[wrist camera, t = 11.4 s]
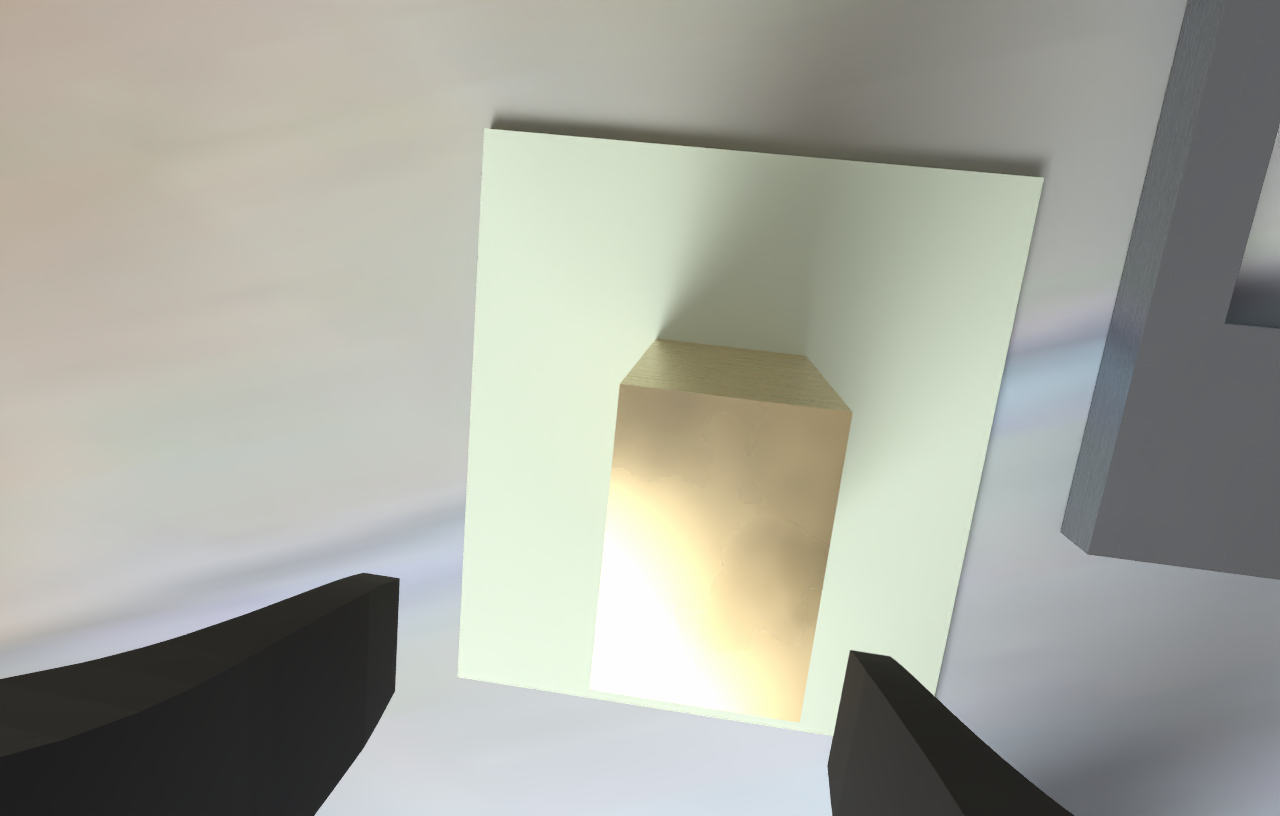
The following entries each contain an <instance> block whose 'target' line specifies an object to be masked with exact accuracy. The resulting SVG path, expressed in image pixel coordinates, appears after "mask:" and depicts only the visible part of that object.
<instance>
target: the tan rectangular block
mask: <svg viewBox="0 0 1280 816" xmlns="http://www.w3.org/2000/svg"><path fill="white" fill-rule="evenodd" d="M852 414H853V412H852V411H851V410H850V408H849V407H848V406H847V405H846V403H845V402H844V401H843V400H842V399H841V397H840V396H839V395H838V394H837V392H836V391H835V390H834V389H833V388H832V386H831V385H830V384H829V383H828V382H827V380H826V379H825V378H824V377H823V375H822V374H821V373H820V372H819V371H818V369H817V368H816V367H815V366H814V364H813V363H812V362H811V361H810V360H809V358H808V357H807V356H803V355H795V354H786V353H777V352H769V351H760V350H751V349H743V348H734V347H726V346H717V345H708V344H700V343H691V342H682V341H674V340H665V339H655V340H654V342H653V343H652V344H651V345H650V347H649V348H648V349H647V350H646V352H645V353H644V354H643V355H642V357H641V358H640V359H639V360H638V362H637V363H636V364H635V365H634V367H633V368H632V369H631V370H630V372H629V373H628V374H627V375H626V377H625V378H624V379H623V380H622V382H621V383H620V387H619V397H618V407H617V418H616V428H615V438H614V448H613V459H612V469H611V479H610V489H609V500H608V510H607V520H606V530H605V540H604V551H603V561H602V571H601V581H600V592H599V602H598V612H597V622H596V633H595V643H594V653H593V663H592V674H591V684H590V689H593V690H599V691H605V692H611V693H618V694H624V695H630V696H636V697H643V698H649V699H655V700H661V701H668V702H674V703H680V704H687V705H693V706H699V707H705V708H712V709H718V710H724V711H730V712H737V713H743V714H749V715H755V716H762V717H768V718H774V719H780V720H787V721H793V722H799V723H800V718H801V712H802V706H803V700H804V694H805V689H806V683H807V677H808V671H809V665H810V659H811V654H812V648H813V642H814V636H815V630H816V624H817V618H818V613H819V607H820V601H821V595H822V589H823V583H824V577H825V572H826V566H827V560H828V554H829V548H830V542H831V537H832V531H833V525H834V519H835V513H836V507H837V501H838V496H839V490H840V484H841V478H842V472H843V466H844V460H845V455H846V449H847V443H848V437H849V431H850V425H851V420H852Z"/></svg>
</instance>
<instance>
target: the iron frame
mask: <svg viewBox="0 0 1280 816" xmlns="http://www.w3.org/2000/svg"><path fill="white" fill-rule="evenodd" d="M1279 124H1280V0H1188V4H1187V8H1186V12H1185V17H1184V21H1183V25H1182V29H1181V33H1180V37H1179V42H1178V46H1177V50H1176V54H1175V58H1174V62H1173V67H1172V71H1171V75H1170V79H1169V83H1168V87H1167V91H1166V96H1165V100H1164V104H1163V108H1162V112H1161V116H1160V121H1159V125H1158V129H1157V133H1156V137H1155V141H1154V146H1153V150H1152V154H1151V158H1150V162H1149V166H1148V170H1147V175H1146V179H1145V183H1144V187H1143V191H1142V195H1141V200H1140V204H1139V208H1138V212H1137V216H1136V220H1135V225H1134V229H1133V233H1132V237H1131V241H1130V245H1129V250H1128V254H1127V258H1126V262H1125V266H1124V270H1123V274H1122V279H1121V283H1120V287H1119V291H1118V295H1117V299H1116V304H1115V308H1114V312H1113V316H1112V320H1111V324H1110V329H1109V333H1108V337H1107V341H1106V345H1105V349H1104V353H1103V358H1102V362H1101V366H1100V370H1099V374H1098V378H1097V383H1096V387H1095V391H1094V395H1093V399H1092V403H1091V408H1090V412H1089V416H1088V420H1087V424H1086V428H1085V432H1084V437H1083V441H1082V445H1081V449H1080V453H1079V457H1078V462H1077V466H1076V470H1075V474H1074V478H1073V482H1072V487H1071V491H1070V495H1069V499H1068V503H1067V507H1066V511H1065V516H1064V520H1063V524H1062V528H1061V533H1062V534H1064V535H1065V536H1066V537H1067V538H1068V539H1070V540H1071V541H1072V542H1073V543H1075V544H1076V545H1077V546H1078V547H1079V548H1081V549H1082V550H1083V551H1084V552H1085V553H1087V554H1089V555H1097V556H1105V557H1112V558H1120V559H1127V560H1135V561H1143V562H1150V563H1158V564H1165V565H1173V566H1181V567H1188V568H1196V569H1203V570H1211V571H1218V572H1226V573H1234V574H1241V575H1249V576H1256V577H1264V578H1272V579H1279V580H1280V328H1271V327H1261V326H1252V325H1242V324H1232V323H1225V321H1226V317H1227V313H1228V310H1229V306H1230V302H1231V299H1232V295H1233V291H1234V288H1235V284H1236V281H1237V277H1238V273H1239V270H1240V266H1241V262H1242V259H1243V255H1244V251H1245V248H1246V244H1247V241H1248V237H1249V233H1250V230H1251V226H1252V222H1253V219H1254V215H1255V211H1256V208H1257V204H1258V200H1259V197H1260V193H1261V190H1262V186H1263V182H1264V179H1265V175H1266V171H1267V168H1268V164H1269V160H1270V157H1271V153H1272V150H1273V146H1274V142H1275V139H1276V135H1277V131H1278V128H1279Z"/></svg>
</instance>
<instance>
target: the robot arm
mask: <svg viewBox="0 0 1280 816" xmlns="http://www.w3.org/2000/svg"><path fill="white" fill-rule="evenodd" d="M398 604H399V578H393V577H387V576H380V575H374V574H368V573H361V574H357V575H353V576H350V577H346V578H343V579H340V580H337V581H334V582H331V583H328V584H326V585H323V586H320V587H318V588H315V589H312V590H309V591H307V592H304V593H301V594H299V595H296V596H293V597H291V598H288V599H285V600H283V601H280V602H277V603H275V604H272V605H269V606H267V607H264V608H261V609H259V610H256V611H253V612H251V613H248V614H245V615H242V616H239V617H236V618H233V619H230V620H227V621H225V622H222V623H219V624H216V625H213V626H210V627H207V628H204V629H201V630H198V631H195V632H192V633H189V634H186V635H183V636H180V637H177V638H174V639H170V640H167V641H164V642H160V643H157V644H153V645H150V646H146V647H143V648H139V649H135V650H132V651H128V652H124V653H120V654H116V655H112V656H108V657H104V658H101V659H96V660H92V661H88V662H84V663H79V664H74V665H69V666H64V667H59V668H54V669H49V670H44V671H39V672H34V673H29V674H24V675H19V676H14V677H9V678H4V679H0V816H314V815H315V814H316V812H317V811H318V810H319V808H320V807H321V806H322V804H323V803H324V802H325V800H326V799H327V797H328V796H329V795H330V793H331V792H332V791H333V789H334V788H335V787H336V785H337V784H338V783H339V781H340V780H341V778H342V777H343V776H344V774H345V773H346V772H347V770H348V769H349V767H350V766H351V765H352V763H353V762H354V761H355V759H356V758H357V756H358V755H359V753H360V752H361V751H362V749H363V748H364V746H365V745H366V743H367V741H368V739H369V738H370V736H371V734H372V732H373V731H374V729H375V727H376V725H377V724H378V722H379V720H380V718H381V716H382V714H383V713H384V711H385V709H386V707H387V705H388V703H389V701H390V699H391V697H392V695H393V694H394V692H395V677H396V652H397V628H398ZM828 775H829V786H830V797H831V806H832V815H833V816H1074V815H1073V814H1071V813H1070V812H1069V811H1067V810H1066V809H1064V808H1063V807H1062V806H1060V805H1059V804H1058V803H1057V802H1055V801H1054V800H1053V799H1051V798H1050V797H1049V796H1048V795H1046V794H1045V793H1044V792H1042V791H1041V790H1040V789H1039V788H1037V787H1036V786H1035V785H1034V784H1033V783H1031V782H1030V781H1029V780H1028V779H1027V778H1025V777H1024V776H1023V775H1022V774H1020V773H1019V772H1018V771H1017V770H1016V769H1014V768H1013V767H1012V766H1011V765H1010V764H1008V763H1007V762H1006V761H1005V760H1004V759H1002V758H1001V757H1000V756H999V755H998V754H997V753H996V752H994V751H993V750H992V749H991V748H990V747H989V746H988V745H986V744H985V743H984V742H983V741H982V740H981V739H980V738H979V737H978V736H976V735H975V734H974V733H973V732H972V731H971V730H970V729H969V728H968V727H967V726H965V725H964V724H963V723H962V722H961V721H960V720H959V719H958V718H957V717H956V716H955V715H954V714H953V713H952V712H950V711H949V710H948V709H947V708H946V707H945V706H944V705H943V704H942V703H941V702H940V701H939V700H938V699H937V698H936V697H935V696H934V695H933V694H932V693H931V692H929V691H928V690H927V689H926V688H925V687H924V686H923V685H922V684H921V683H920V682H919V681H918V680H917V679H916V678H915V677H914V676H913V675H912V674H911V673H909V672H908V671H907V670H906V669H905V668H904V667H903V666H902V665H901V664H899V663H898V662H897V661H896V660H895V659H893V658H892V657H891V656H885V655H879V654H873V653H867V652H860V651H854V650H850V652H849V657H848V663H847V668H846V673H845V678H844V683H843V688H842V694H841V699H840V704H839V709H838V714H837V719H836V725H835V730H834V735H833V740H832V745H831V750H830V756H829V761H828Z"/></svg>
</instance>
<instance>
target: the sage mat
mask: <svg viewBox="0 0 1280 816" xmlns="http://www.w3.org/2000/svg"><path fill="white" fill-rule="evenodd" d="M1043 181H1044V178H1042V177H1031V176H1019V175H1008V174H997V173H985V172H974V171H963V170H951V169H940V168H928V167H917V166H906V165H894V164H883V163H872V162H860V161H849V160H838V159H826V158H815V157H804V156H792V155H781V154H769V153H758V152H747V151H735V150H724V149H713V148H701V147H690V146H679V145H667V144H656V143H644V142H633V141H622V140H610V139H599V138H588V137H576V136H565V135H554V134H542V133H531V132H519V131H508V130H497V129H485V128H484V142H483V163H482V183H481V204H480V225H479V245H478V266H477V287H476V307H475V328H474V349H473V369H472V390H471V411H470V431H469V452H468V473H467V493H466V514H465V535H464V555H463V576H462V597H461V617H460V638H459V659H458V677H460V678H467V679H473V680H480V681H486V682H492V683H499V684H505V685H511V686H518V687H524V688H530V689H537V690H543V691H549V692H556V693H562V694H568V695H575V696H581V697H587V698H594V699H600V700H606V701H613V702H619V703H625V704H632V705H638V706H644V707H651V708H657V709H663V710H670V711H676V712H682V713H689V714H695V715H701V716H708V717H714V718H720V719H727V720H733V721H739V722H746V723H752V724H759V725H765V726H771V727H778V728H784V729H790V730H797V731H803V732H809V733H816V734H822V735H828V736H833V735H834V730H835V725H836V719H837V714H838V709H839V704H840V699H841V694H842V688H843V683H844V678H845V673H846V668H847V663H848V657H849V652H850V650H854V651H860V652H867V653H873V654H879V655H885V656H891V657H892V658H893V659H895V660H896V661H897V662H898V663H899V664H901V665H902V666H903V667H904V668H905V669H906V670H907V671H908V672H909V673H911V674H912V675H913V676H914V677H915V678H916V679H917V680H918V681H919V682H920V683H921V684H922V685H923V686H924V687H925V688H926V689H927V690H928V691H929V692H931V693H932V694H933V695H934V696H935V692H936V688H937V683H938V678H939V673H940V669H941V664H942V659H943V654H944V650H945V645H946V640H947V636H948V631H949V626H950V621H951V617H952V612H953V607H954V602H955V598H956V593H957V588H958V583H959V579H960V574H961V569H962V564H963V560H964V555H965V550H966V545H967V541H968V536H969V531H970V527H971V522H972V517H973V512H974V508H975V503H976V498H977V493H978V489H979V484H980V479H981V474H982V470H983V465H984V460H985V455H986V451H987V446H988V441H989V437H990V432H991V427H992V422H993V418H994V413H995V408H996V403H997V399H998V394H999V389H1000V384H1001V380H1002V375H1003V370H1004V365H1005V361H1006V356H1007V351H1008V347H1009V342H1010V337H1011V332H1012V328H1013V323H1014V318H1015V313H1016V309H1017V304H1018V299H1019V294H1020V290H1021V285H1022V280H1023V275H1024V271H1025V266H1026V261H1027V256H1028V252H1029V247H1030V242H1031V238H1032V233H1033V228H1034V223H1035V219H1036V214H1037V209H1038V204H1039V200H1040V195H1041V190H1042V185H1043ZM655 339H665V340H674V341H682V342H691V343H700V344H708V345H717V346H726V347H734V348H743V349H751V350H760V351H769V352H777V353H786V354H795V355H803V356H807V357H808V358H809V360H810V361H811V362H812V363H813V364H814V366H815V367H816V368H817V369H818V371H819V372H820V373H821V374H822V375H823V377H824V378H825V379H826V380H827V382H828V383H829V384H830V385H831V386H832V388H833V389H834V390H835V391H836V392H837V394H838V395H839V396H840V397H841V399H842V400H843V401H844V402H845V403H846V405H847V406H848V407H849V408H850V410H851V411H852V412H853V414H852V420H851V425H850V431H849V437H848V443H847V449H846V455H845V460H844V466H843V472H842V478H841V484H840V490H839V496H838V501H837V507H836V513H835V519H834V525H833V531H832V537H831V542H830V548H829V554H828V560H827V566H826V572H825V577H824V583H823V589H822V595H821V601H820V607H819V613H818V618H817V624H816V630H815V636H814V642H813V648H812V654H811V659H810V665H809V671H808V677H807V683H806V689H805V694H804V700H803V706H802V712H801V718H800V723H799V722H793V721H787V720H780V719H774V718H768V717H762V716H755V715H749V714H743V713H737V712H730V711H724V710H718V709H712V708H705V707H699V706H693V705H687V704H680V703H674V702H668V701H661V700H655V699H649V698H643V697H636V696H630V695H624V694H618V693H611V692H605V691H599V690H593V689H590V684H591V674H592V663H593V653H594V643H595V633H596V622H597V612H598V602H599V592H600V581H601V571H602V561H603V551H604V540H605V530H606V520H607V510H608V500H609V489H610V479H611V469H612V459H613V448H614V438H615V428H616V418H617V407H618V397H619V387H620V383H621V382H622V380H623V379H624V378H625V377H626V375H627V374H628V373H629V372H630V370H631V369H632V368H633V367H634V365H635V364H636V363H637V362H638V360H639V359H640V358H641V357H642V355H643V354H644V353H645V352H646V350H647V349H648V348H649V347H650V345H651V344H652V343H653V342H654V340H655Z"/></svg>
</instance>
